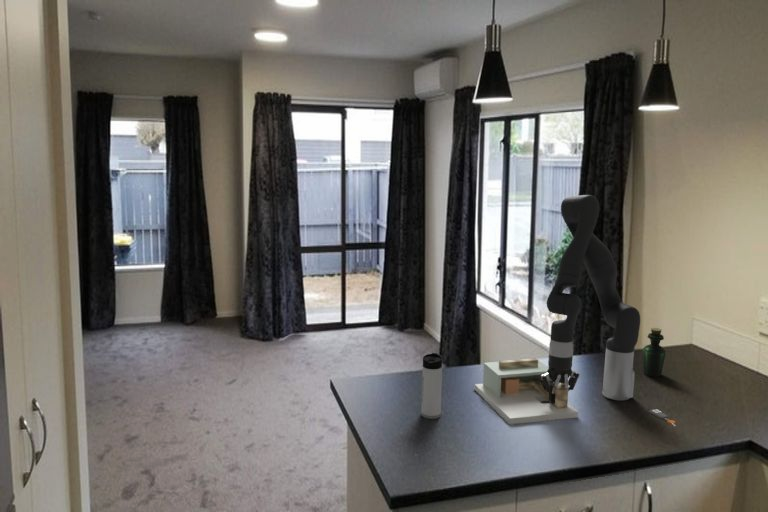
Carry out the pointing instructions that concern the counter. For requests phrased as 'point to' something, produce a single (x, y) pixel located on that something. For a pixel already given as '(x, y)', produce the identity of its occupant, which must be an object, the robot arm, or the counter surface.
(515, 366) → the stick
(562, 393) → the crook
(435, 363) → the travel mug
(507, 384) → the cube
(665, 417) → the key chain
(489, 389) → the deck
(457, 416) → the counter surface
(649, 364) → the potion bottle
